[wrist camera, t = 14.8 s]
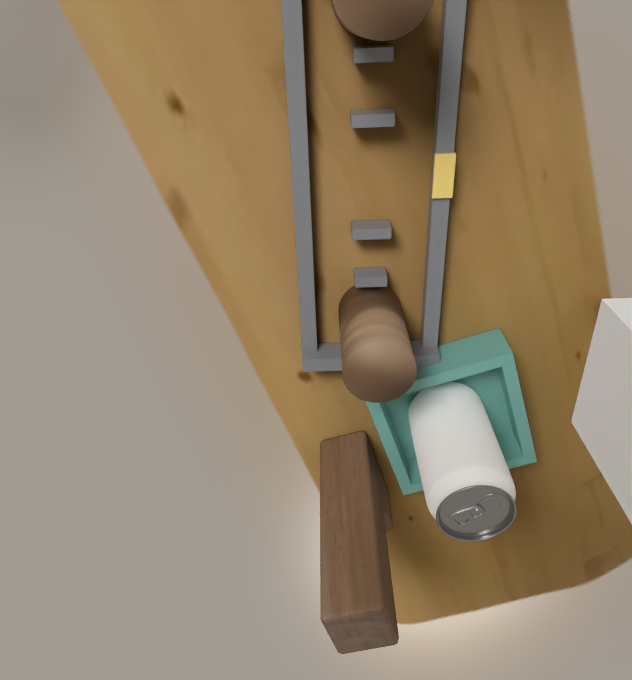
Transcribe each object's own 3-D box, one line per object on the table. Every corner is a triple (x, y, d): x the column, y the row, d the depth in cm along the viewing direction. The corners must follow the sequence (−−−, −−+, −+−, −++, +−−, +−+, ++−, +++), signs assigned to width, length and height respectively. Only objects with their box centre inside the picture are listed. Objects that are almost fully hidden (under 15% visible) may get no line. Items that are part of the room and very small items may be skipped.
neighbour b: (350, 274, 44) (357, 333, 37) (410, 291, 45) (428, 353, 37) (330, 327, 47) (332, 392, 39) (386, 342, 48) (400, 410, 40)
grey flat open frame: (276, -92, 32) (273, -97, 30) (472, -101, 32) (482, -108, 30) (303, 355, 48) (302, 371, 46) (434, 351, 48) (439, 367, 46)
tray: (360, 369, 49) (363, 395, 46) (499, 327, 47) (512, 352, 43) (398, 465, 55) (403, 495, 52) (523, 432, 53) (537, 461, 49)
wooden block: (389, 494, 57) (415, 679, 41) (346, 503, 58) (356, 689, 42) (365, 428, 52) (384, 608, 37) (318, 439, 53) (318, 621, 38)
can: (493, 415, 50) (538, 523, 40) (430, 447, 52) (456, 557, 42) (459, 366, 48) (497, 467, 37) (393, 401, 50) (412, 507, 39)
